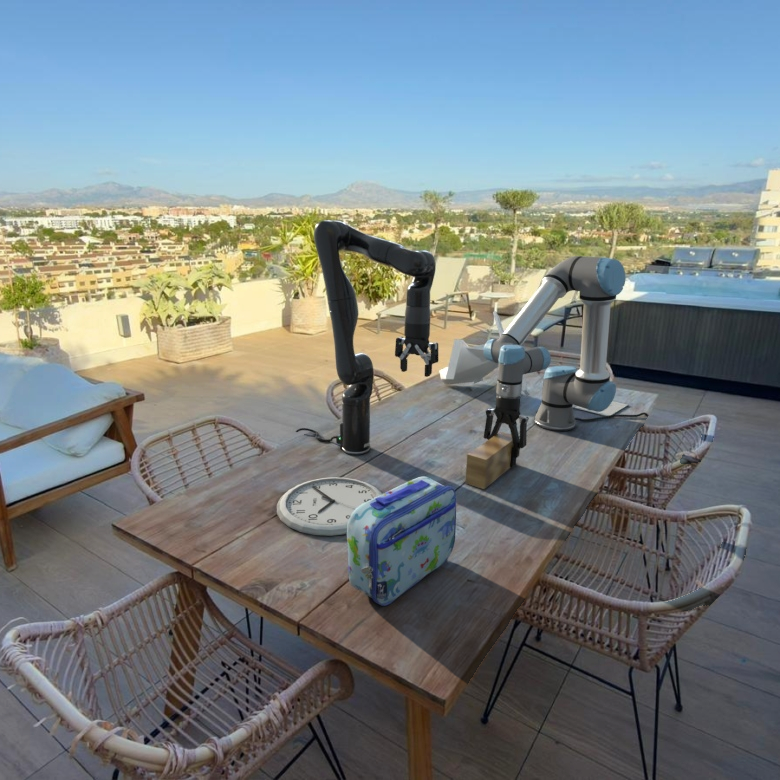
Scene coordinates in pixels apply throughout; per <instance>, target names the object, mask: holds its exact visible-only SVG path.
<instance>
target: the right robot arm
mask: <svg viewBox="0 0 780 780" xmlns="http://www.w3.org/2000/svg"><path fill="white" fill-rule="evenodd" d="M625 285H626V269H625V267H624V265H623V264H622V263H621V261H620V260H618V259H616V258H610V257H601V256H582V255H575V256H571V257H568V258H566V259H564V260H562V261H560V262H559V263H558V264H556V265H555V266H554V267H552V268H551V269H550V270H549V271H548V272H547V273H546V274H545V275H544V276H543V278H542V279H541V281H540V286H539V288H538V289H537V290H536V291H535V292H534V294H533V295H532V296H531V297H530V298H529V300H528V301H527V302H526V303H525V305H524V306H523V307H522V308H521V310H520V311H519V312H518V314H517V315H516V316H515V317H514V319H513V320H512V321H511V322H510V323H509V325H507V327H506V329H505V330H503V331H504V332H503V334H502V335H501V336H500V335H499V337H498V339H497V338H491V339H488V340H487V341H486V342H485V343H484V344H485V346H484V356H485V358H486V359H488V360H490V361H492V362H495V363H499V364H498V367H497V368H498V369H497V381H496V391H495V393H496V395H495V404H494V408H492V407H491V408H488V409H486V410H485V425H484V431H483V432H484V433H483V438H484V439H486V440H487V441H488V440H489V439H491V438H492V437H493V436H495V435H496V434H498V433H499V432H500V430H501V427H502V425H503V424H505V425H508V428H509V432H510V434H511V436H512V440H513V444H514V447H513V448H512V450H511V461H510V467H511V468H514V467H515V466H516V465H517V458H519V457H520V452H521V449H524V448H525V447H526V446H527V437H528V435H527V432H528V430H527V427H528V424H527V423H528V422H529V419H530V418H529V416H524V415H522V414H521V412H520V409H521V399H522V397H521V395H522V390H523V389H522V378H523V375H528V374H532V373H538V372H541V371H544V370H545V371H544V375H543V378H542V379H543V381H542V382H543V383H542V394H541V402H540V405H539V407H538V410H537V411H536V412H535V417H534V424H535V425H536V426H537V427H539V428H542V429H544V430H549V431H556V432H567V431H572V430H574V429H575V428H576V421H579V422H591V421H592V422H593V421H599V420H604V419H609V418H610V419H611V418H637V417H641V416H645V417H649V414H648V413H647V412H640V413H638V414H613V415H609V416H604V415H603V416H599V417H598V416H597V417H593V418H592V417H591V418H580V417H576V416H575V413H574V407H573V406H575V407H576V406H579V407H582V408H585V409H588V410H592V411H596V412H601V411H604V410H605V409H606V408H608V406H609V405H610V404H611V402H612V401H614V398H615V396H616V392H617V386H616V384H615V383H614V382H613V381H610V378H611V374H610V372H609V371H608V370H607V357H608V343H609V331H610V321H611V320H610V318H611V304H612V303H613V302H614V301H615V300H616V299H617V296H619V295H620V294H621V293H622V291H623V290H624V287H625ZM572 291H574V292H579V298H578V299H579V300H580V301H581V302H582V304H583V309H582V324H581V325H582V328H581V342H580V343H581V345H580V361H579V362H580V363H579V369H578V368H577V367H576V366H571V365H570V366H569V365H557V366H556V365H555V366H550V364H551V362H552V356H551V353H550V351H549V350H548V349H547V348H546V347H544V346H535V347H530V346H526V345H523V344H524V343H525V342H526V341H527V339H528V338H529V336H530V335H531V334H533V332H534V330H535V329H536V328H537V327H538V325H539V324H540V323H541V321H542V320H543V319H544V318H545V317H546V315H547V314H548V313H549V311H551V309H552V308H553V307H554V305H555V304H556V303H557V302H558V301H559V299H563V298H564V297H565V296H566V295H567V294H568V293H569V292H572ZM549 366H550V367H549ZM494 415H495V417H496V420H495V423H494V426H493V421H494ZM518 420H519V431H518V423H517V421H518ZM492 427H493V428H492Z"/></svg>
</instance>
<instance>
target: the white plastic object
mask: <svg viewBox="0 0 780 780" xmlns="http://www.w3.org/2000/svg"><path fill="white" fill-rule="evenodd" d="M492 315H493V319H494V321H495V324H496V325H495V326H496V328H497V332H498V335H499V337H500V336H501V335H502V334H503V332H504V331H505V330H504V328H503V325H502V321H501V318H500V315H499V314H498V312H497V311H496V310H495V311H492ZM485 344H486V343H483V344H479V345H473V346H469V345H468V343H466V342H465V340H464V339H463V338H460V339H458V338H454V340H453V344H452V349H451V353H450V357H449V362H448V366H446V367H444V368H442V369H440V370H439V371H438V372H439V376H440V381H442V383H443V384H444V385H445V386H449V385H458V384H467V383H468V384H469V383H473V384H477V383H480V382H482V381H484V378H485V377H486V376H487V375H489V374H490V373H492V372H494V371H495V370H496V369H497V368H498V364H499V363H495V362H492V361H490V360H488V359H486V358H485V356H484V346H485ZM528 387H529V386H528V384H527V381H526V378H525V374H523V378H522V389H521V390H522V391H523V393H524V395H525V396H526V397H528V396H531V395H530V390H529V388H528Z"/></svg>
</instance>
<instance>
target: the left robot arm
mask: <svg viewBox="0 0 780 780" xmlns="http://www.w3.org/2000/svg"><path fill="white" fill-rule="evenodd" d="M313 240H314V245H315V250H316V253H317V256H318V260H319V264H320V268H321V273H322V278H323V283H324V288H325V292H326V299H327V301H326V302H327V306H328V311H329V316H330V317H329V318H330V321H331V327H332V328H331V329H332V336H333V342H334V343H333V344H334V356H335V358H334V359H335V367H336V375H337V376H338V378H339V381H340V382H341V383H342V384H343V385H345V386H347V388H346V389H345V390H344V391H343V392H342V395H341V411H342V413H341V414H342V415H341V417H342V419H341V420H342V421H341V422H340V423H339V434H337V435H334V436H331V437H330V438H328V439H324V438H321V437H319V435H320V433H319V431H317V430H314V429H311V428H308V427H307V428H306V427H301V428H298V429H296V430H295V433H299V432H300V431H307V432H311V433H314V434H315V436H314V437H315V440H317V441H320V442H324V443H325V442H326V443H329V442H332V441H333V440H335V442H336V444H337V445H339V449H340V450H341V451H343V453H345V454H348V455H352V456H353V455H355V456H356V455H357V456H358V455H365V454H367V453H369V451H370V450H371V443H370V442H371V441H370V440H371V429H370V428H371V397H372V394H373V388H374V385H373V384H374V365H373V360H372V359H371V358H370V356H369V355H367V354H366V353H364V352H357V353H356V352H355V347H354V336H355V331H356V327H357V324H358V320H359V305H358V299H357V294H356V290H355V287H354V286H353V284H352V282H351V281H350V279H349V277H348V276H347V274H346V273H345V271H344V269H343V265H342V262H341V256H340V252H351V253H357V254H360V255H363V256H364V257H366V258H368V259H369V260H371V262H374V263H376V264H380V265H382V266H385V267H388V268H391V269H394V270H396V271H398V272H399V273H401V274H403V275H405V276H409V277H412V281H411V283H410V284H409V285H408V286H407V288H406V292H405V293H406V295H405V310H404V332H403V333H404V336H405V337H403V336H399V337H395V348H394V356H395V357H396V358H399V360H400V361H399V362H400V364H399V368H400V371H401V372H402V373H405V372H407V371H408V358H409V356H410V355H416V356H420V358H421V360H423V361H424V363H425V364H424V377H426V378H428V377H430V376H431V375H432V373H433V365H434V364H437V363H439V343H438V342H430V334H431V306H430V305H431V289H432V287H433V283H434V279H435V275H436V266H437V265H436V264H437V263H436V258H435V256H434V255H433V254H432V252H430V251H428V250H411V249H408V248H405V246H403V245H401V244H399V243H397V242H393V241H391V240H386V239H383V238H380V237H376V236H373V235H370V234H367V233H364V232H362V231H360V230H358V229H356V228H354V227H352V226H351V225H349V224H347V223H345V222H343V221H341V220H321V221H319V222H318V223H316V225H315V227H314V230H313ZM404 346H405V348H404Z"/></svg>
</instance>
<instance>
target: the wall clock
mask: <svg viewBox="0 0 780 780" xmlns="http://www.w3.org/2000/svg"><path fill="white" fill-rule="evenodd" d="M381 494H384V492H382V491H381V490H380V489H379V488H377V487H376V486H374V485H372V484H371V483H369V482H365V481H362V480H359V479H355V478H349V477H338V476H337V477H335V476H333V477H332V476H331V477H322V478H317V479H312V480H307V481H305V482H302V483H299V484H297V485H295V486H293V487H292V488H290V489H288V490H287V491H286V492H285V493H284V494H283V495H281V496H280V498H279V499H278V502H277V503H276V515H277V517H278V518H279V520H280V521H281V522H282V523H283V524H285V525H286V526H287V527H288V528H290V529H293V530H295V531H297V532H299V533H303V534H308V535H312V536H327V537H328V536H329V537H331V536H332V537H333V536H342V535H347V525H348V521H349V518H350V516H351V514H352V513H353V511H354V510H355V509H356V508H357V507H358V506H360V505H362V504H363V503H365V502H368V501H370V500H372V499H374V498H376V497H378V496H380V495H381Z"/></svg>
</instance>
